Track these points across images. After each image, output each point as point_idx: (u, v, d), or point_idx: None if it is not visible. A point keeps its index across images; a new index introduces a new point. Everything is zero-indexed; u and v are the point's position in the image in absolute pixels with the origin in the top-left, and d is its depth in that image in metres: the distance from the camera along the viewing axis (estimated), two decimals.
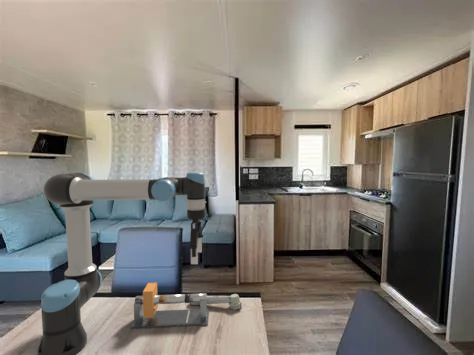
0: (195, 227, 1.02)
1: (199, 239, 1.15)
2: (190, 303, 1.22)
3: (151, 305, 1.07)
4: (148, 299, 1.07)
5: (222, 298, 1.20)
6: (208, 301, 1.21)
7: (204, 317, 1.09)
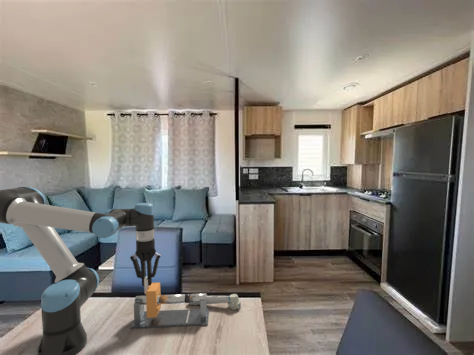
0: None
1: None
2: (189, 303, 1.22)
3: (154, 305, 1.07)
4: (151, 299, 1.07)
5: (221, 298, 1.20)
6: (207, 301, 1.21)
7: (204, 317, 1.09)
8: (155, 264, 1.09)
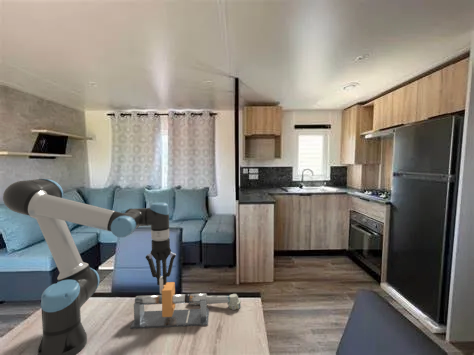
0: None
1: None
2: (189, 303, 1.22)
3: (170, 304, 1.07)
4: (167, 298, 1.07)
5: (221, 298, 1.20)
6: (207, 301, 1.21)
7: (204, 317, 1.09)
8: (170, 263, 1.09)
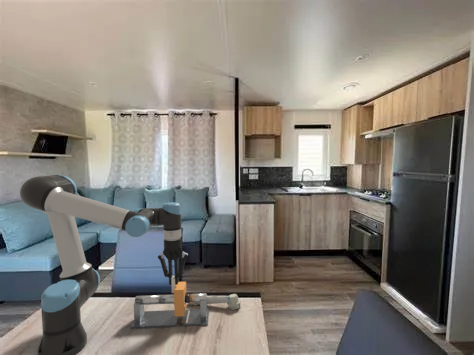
0: None
1: None
2: (189, 303, 1.22)
3: (182, 304, 1.08)
4: (179, 298, 1.08)
5: (221, 298, 1.20)
6: (207, 301, 1.21)
7: (204, 317, 1.09)
8: (182, 263, 1.09)
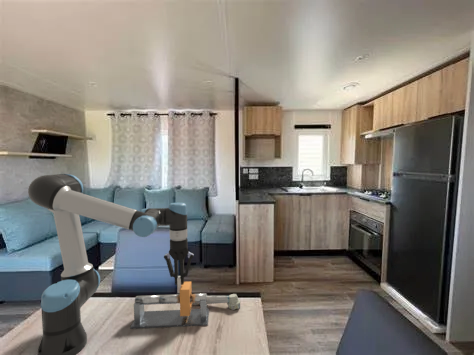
0: None
1: None
2: None
3: (188, 303, 1.08)
4: (185, 297, 1.08)
5: (221, 298, 1.20)
6: (207, 301, 1.21)
7: (204, 317, 1.09)
8: (188, 263, 1.10)
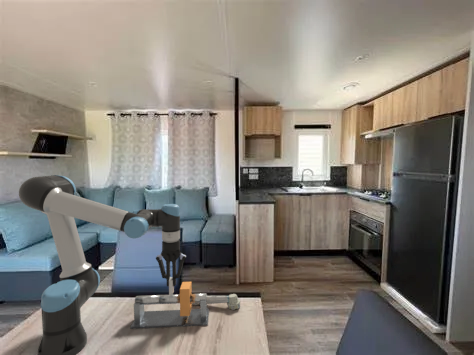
0: None
1: None
2: None
3: (188, 303, 1.08)
4: (185, 297, 1.08)
5: (220, 298, 1.20)
6: None
7: (204, 317, 1.09)
8: (180, 265, 1.09)
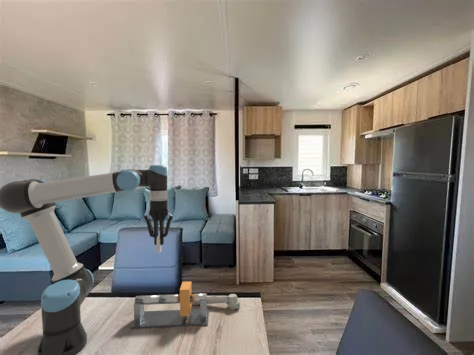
0: None
1: None
2: None
3: (188, 303, 1.08)
4: (185, 297, 1.08)
5: (220, 298, 1.20)
6: None
7: (204, 317, 1.09)
8: (167, 224, 1.13)
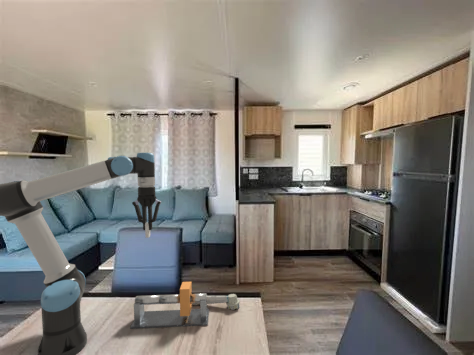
0: None
1: None
2: None
3: (188, 303, 1.08)
4: (185, 297, 1.08)
5: (220, 298, 1.20)
6: None
7: (204, 317, 1.09)
8: (155, 209, 1.16)
